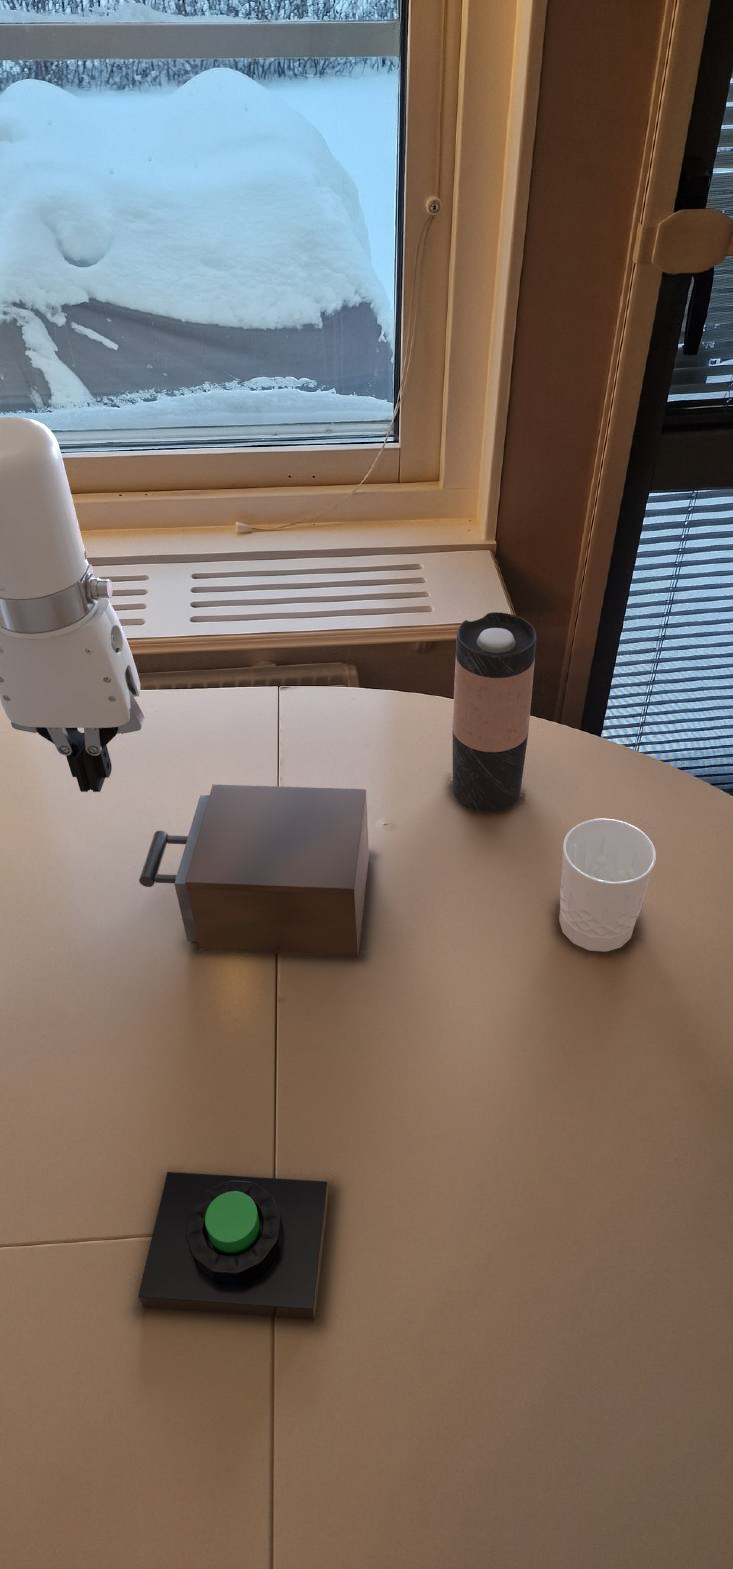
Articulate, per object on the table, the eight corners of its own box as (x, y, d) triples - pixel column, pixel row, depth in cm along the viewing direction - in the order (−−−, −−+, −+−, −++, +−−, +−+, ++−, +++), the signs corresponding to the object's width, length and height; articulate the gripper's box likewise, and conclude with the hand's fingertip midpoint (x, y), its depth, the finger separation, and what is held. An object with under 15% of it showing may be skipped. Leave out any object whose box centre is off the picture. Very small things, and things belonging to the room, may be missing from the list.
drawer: (141, 939, 95) (125, 881, 90) (168, 850, 104) (155, 793, 99) (333, 947, 94) (328, 889, 89) (345, 857, 102) (341, 799, 97)
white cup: (631, 968, 92) (648, 892, 86) (544, 945, 94) (554, 870, 88) (645, 905, 98) (662, 829, 91) (562, 885, 100) (573, 810, 93)
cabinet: (200, 953, 95) (184, 882, 89) (224, 854, 104) (212, 783, 98) (358, 960, 94) (354, 888, 87) (369, 859, 103) (366, 788, 97)
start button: (203, 1251, 71) (200, 1240, 70) (213, 1201, 74) (210, 1189, 73) (255, 1255, 71) (252, 1243, 70) (263, 1204, 73) (261, 1192, 72)
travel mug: (513, 822, 106) (528, 662, 93) (441, 807, 108) (446, 649, 95) (529, 775, 112) (545, 618, 98) (460, 762, 114) (467, 606, 100)
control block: (143, 1309, 72) (133, 1285, 69) (171, 1185, 78) (163, 1159, 76) (315, 1321, 71) (311, 1297, 68) (329, 1195, 78) (326, 1169, 75)
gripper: (153, 568, 78) (189, 753, 90) (-40, 568, 79) (22, 751, 91) (130, 623, 72) (173, 812, 85) (-77, 623, 73) (-5, 810, 86)
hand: (95, 780), depth 88 cm, fingers closed
